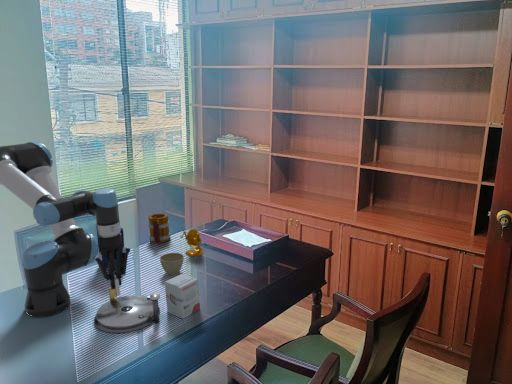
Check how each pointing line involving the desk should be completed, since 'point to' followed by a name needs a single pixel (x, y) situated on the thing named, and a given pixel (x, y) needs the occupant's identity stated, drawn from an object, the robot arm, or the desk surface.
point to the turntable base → (155, 319)
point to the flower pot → (172, 262)
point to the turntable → (125, 311)
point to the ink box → (182, 295)
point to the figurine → (193, 242)
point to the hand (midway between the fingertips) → (117, 294)
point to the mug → (159, 228)
